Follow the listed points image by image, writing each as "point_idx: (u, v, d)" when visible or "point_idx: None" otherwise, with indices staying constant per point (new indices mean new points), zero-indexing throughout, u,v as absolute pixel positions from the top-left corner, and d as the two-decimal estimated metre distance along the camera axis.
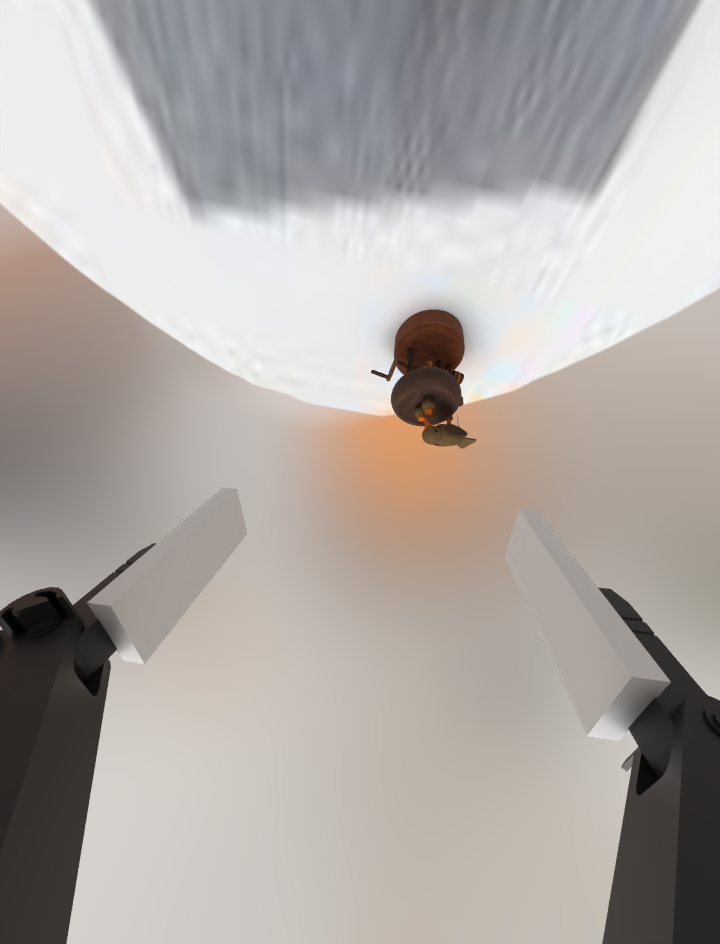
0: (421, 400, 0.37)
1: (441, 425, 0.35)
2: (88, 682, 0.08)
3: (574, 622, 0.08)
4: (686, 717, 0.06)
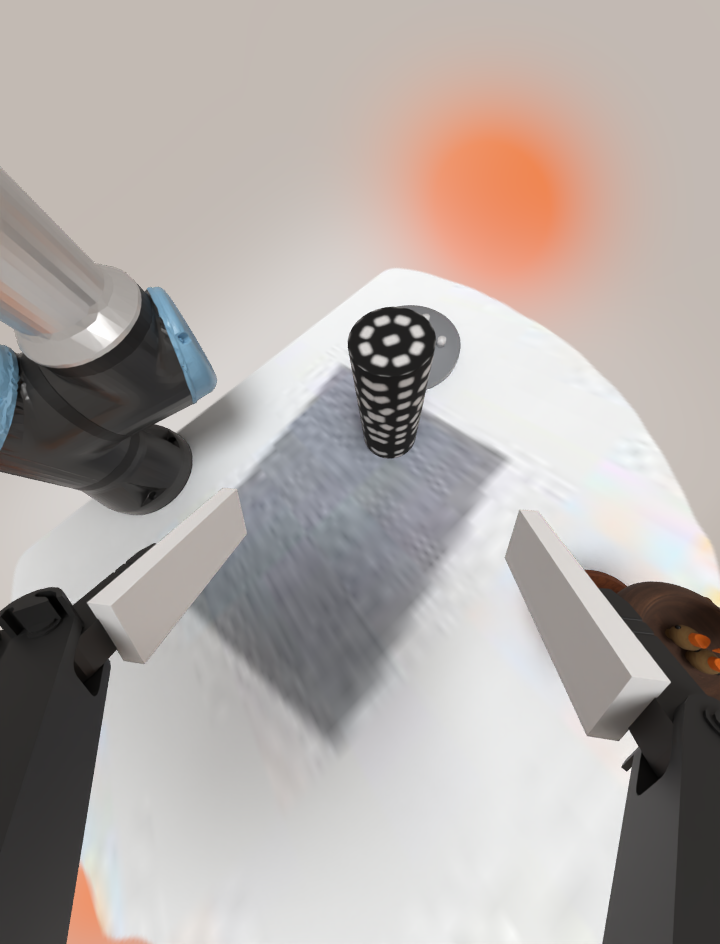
0: (673, 646, 0.22)
1: None
2: (88, 682, 0.08)
3: (573, 622, 0.08)
4: (686, 717, 0.06)
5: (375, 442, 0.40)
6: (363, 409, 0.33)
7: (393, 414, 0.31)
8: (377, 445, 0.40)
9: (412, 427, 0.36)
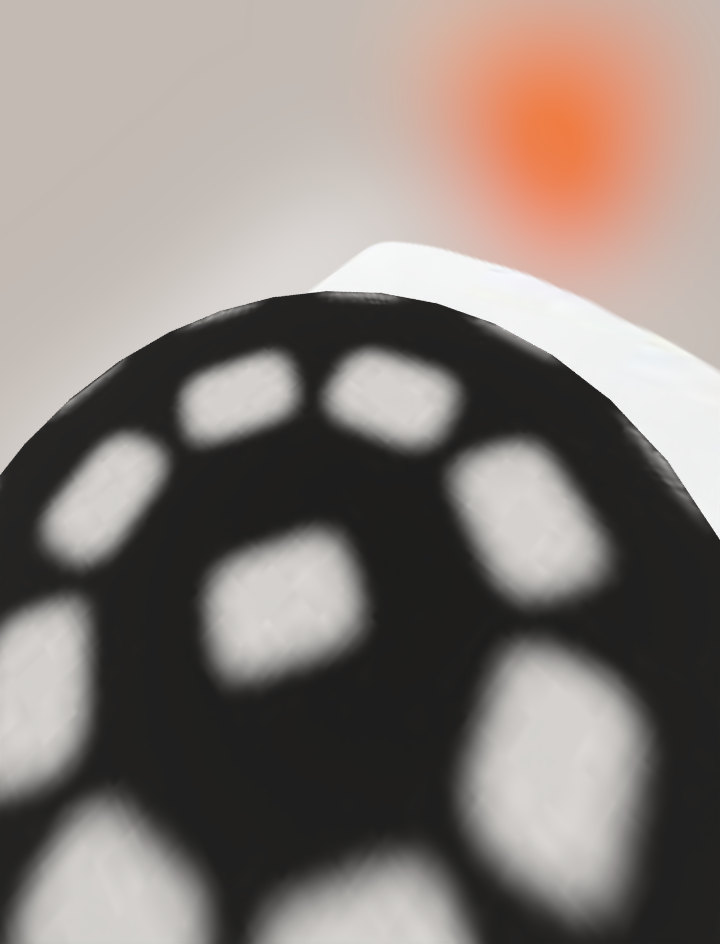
0: None
1: None
2: None
3: None
4: None
5: None
6: None
7: None
8: None
9: None
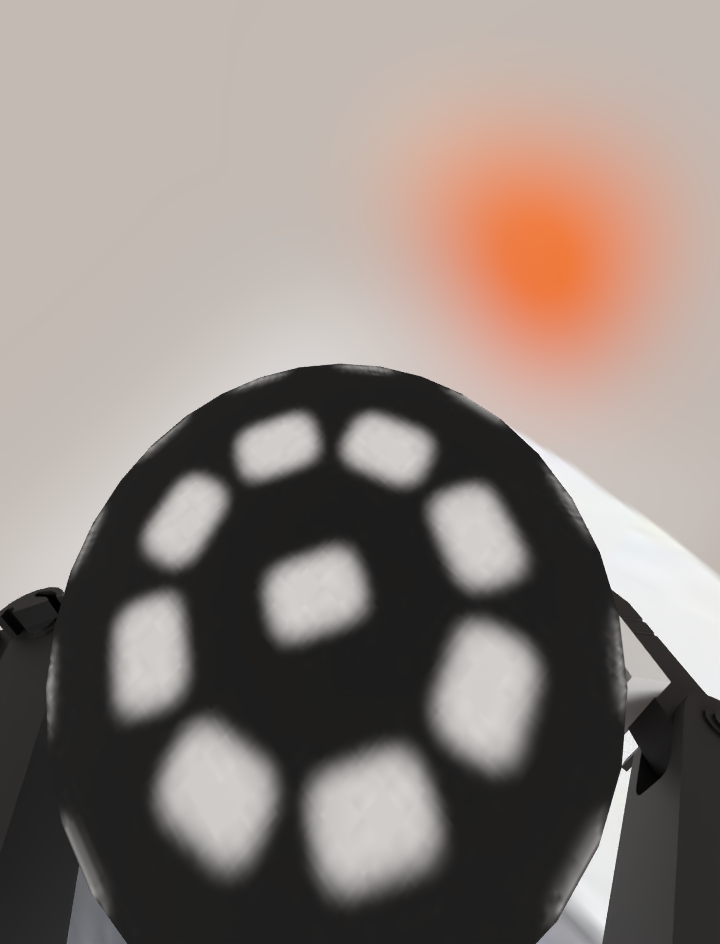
0: None
1: None
2: None
3: None
4: (686, 717, 0.06)
5: None
6: None
7: None
8: None
9: None
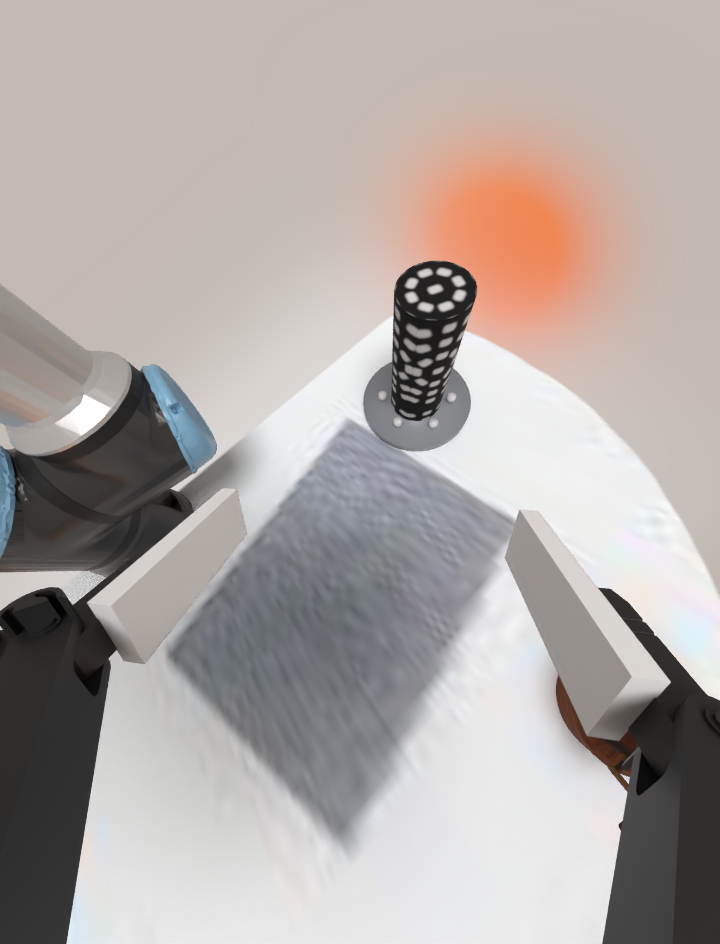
0: None
1: None
2: (88, 682, 0.08)
3: (573, 622, 0.08)
4: (686, 717, 0.06)
5: (405, 402, 0.42)
6: (400, 364, 0.35)
7: (430, 365, 0.33)
8: (407, 406, 0.42)
9: (443, 384, 0.39)
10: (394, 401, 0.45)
